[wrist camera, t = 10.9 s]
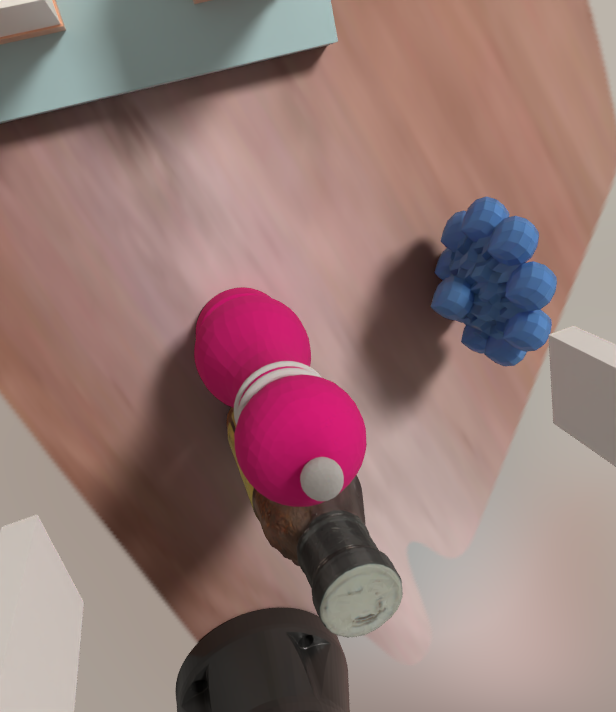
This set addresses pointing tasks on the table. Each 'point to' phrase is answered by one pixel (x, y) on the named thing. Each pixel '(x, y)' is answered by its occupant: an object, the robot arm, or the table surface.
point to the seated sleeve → (28, 19)
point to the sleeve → (200, 1)
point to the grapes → (494, 282)
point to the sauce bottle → (332, 555)
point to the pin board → (150, 47)
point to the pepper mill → (278, 400)
